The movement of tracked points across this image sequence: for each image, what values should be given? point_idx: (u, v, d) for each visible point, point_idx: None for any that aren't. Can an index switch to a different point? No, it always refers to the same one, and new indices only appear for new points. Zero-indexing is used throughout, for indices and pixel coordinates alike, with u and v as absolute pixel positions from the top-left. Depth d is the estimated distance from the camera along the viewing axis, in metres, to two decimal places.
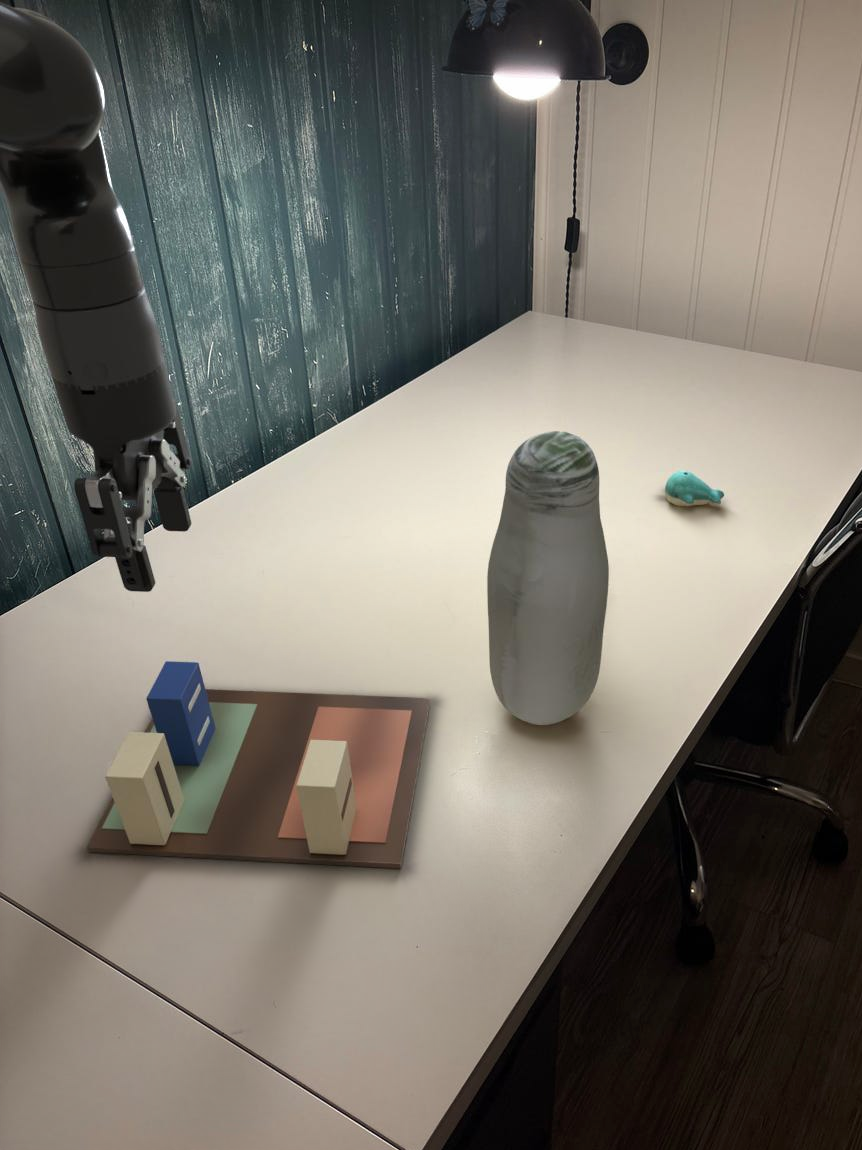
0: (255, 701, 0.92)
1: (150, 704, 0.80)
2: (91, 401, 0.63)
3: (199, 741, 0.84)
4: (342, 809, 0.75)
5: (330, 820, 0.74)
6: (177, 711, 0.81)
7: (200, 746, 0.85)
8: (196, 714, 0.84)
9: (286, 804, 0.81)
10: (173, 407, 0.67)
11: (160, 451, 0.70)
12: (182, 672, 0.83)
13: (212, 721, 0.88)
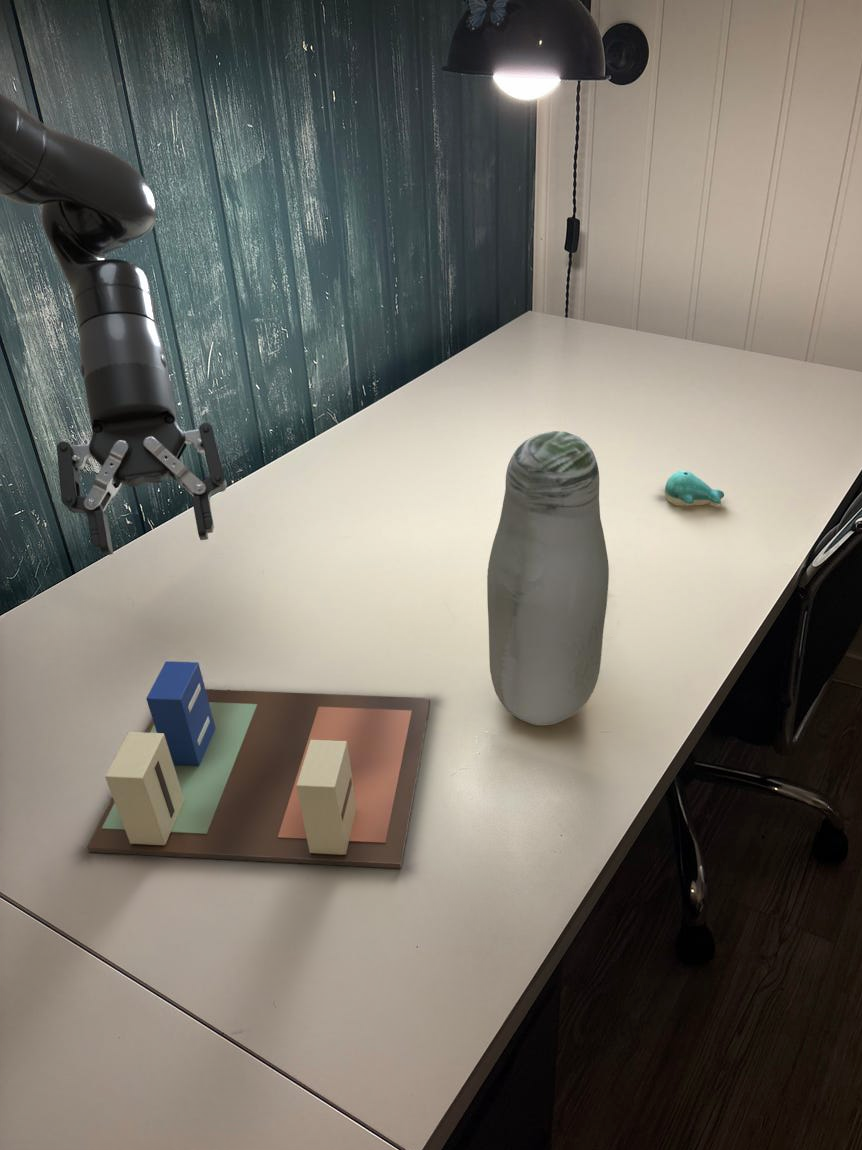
0: (255, 701, 0.92)
1: (150, 704, 0.80)
2: None
3: (199, 741, 0.84)
4: (342, 809, 0.75)
5: (330, 820, 0.74)
6: (177, 711, 0.81)
7: (200, 746, 0.85)
8: (196, 714, 0.84)
9: (286, 804, 0.81)
10: (130, 398, 0.84)
11: (143, 443, 0.86)
12: (182, 672, 0.83)
13: (212, 721, 0.88)
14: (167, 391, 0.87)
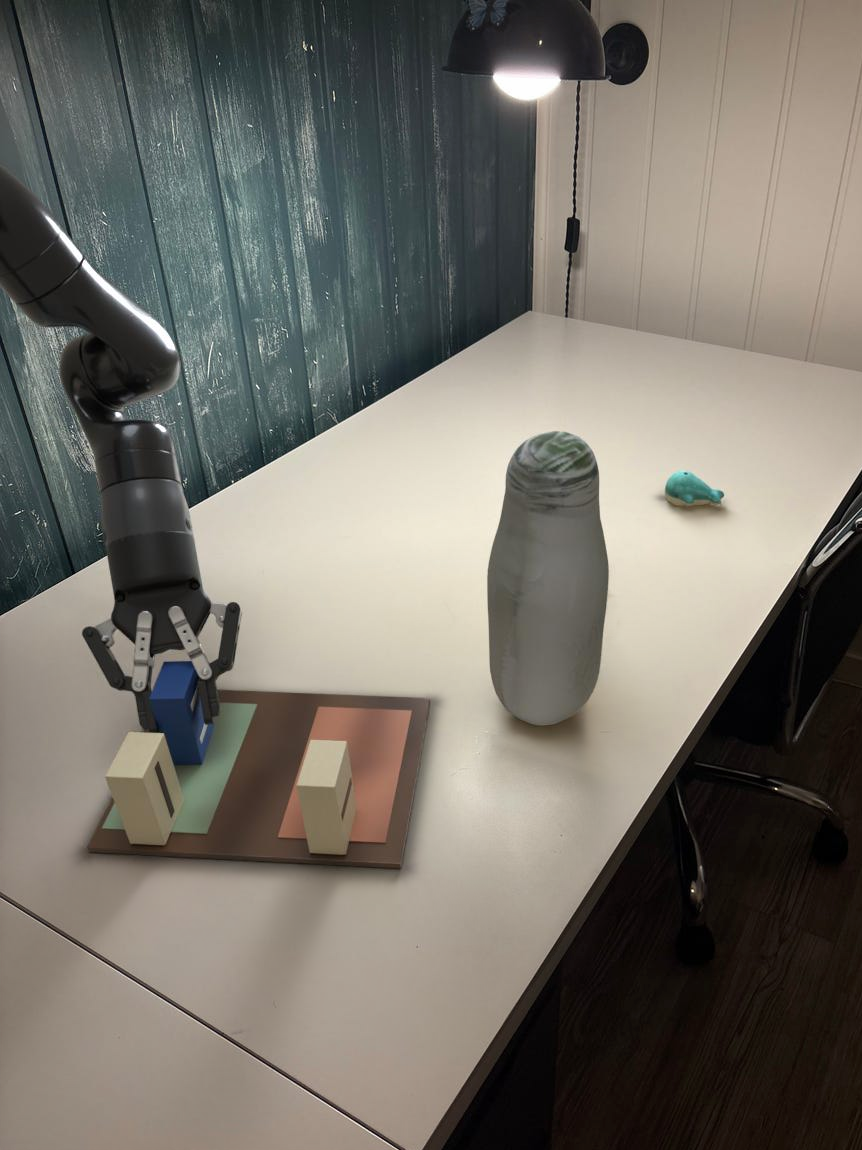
0: (255, 701, 0.92)
1: (153, 704, 0.80)
2: None
3: (201, 739, 0.85)
4: (342, 809, 0.75)
5: (330, 820, 0.74)
6: (180, 710, 0.81)
7: (202, 745, 0.85)
8: (198, 712, 0.84)
9: (286, 804, 0.81)
10: (155, 569, 0.81)
11: (168, 613, 0.82)
12: (182, 671, 0.83)
13: None
14: (192, 556, 0.84)
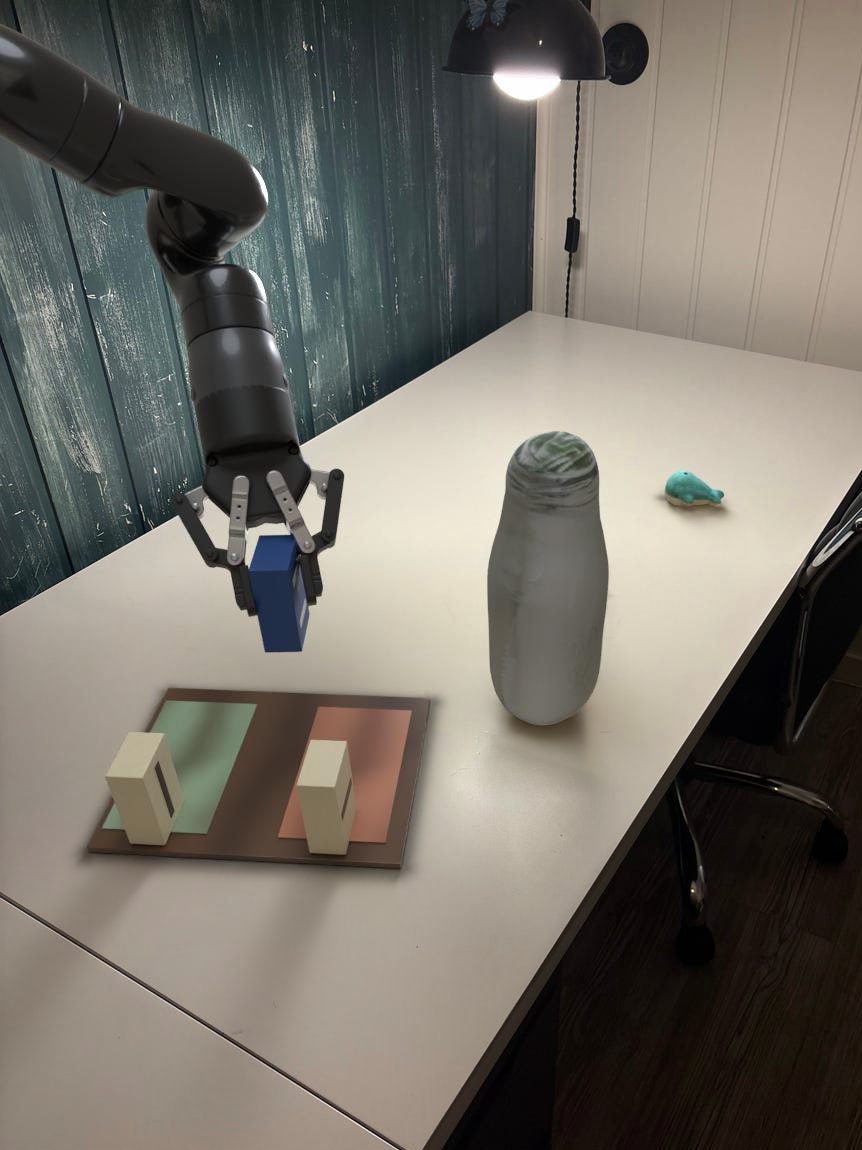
0: (255, 701, 0.92)
1: (252, 578, 0.72)
2: (197, 423, 0.75)
3: (300, 623, 0.76)
4: (342, 809, 0.75)
5: (330, 820, 0.74)
6: (283, 584, 0.72)
7: (301, 630, 0.76)
8: (298, 592, 0.75)
9: (286, 804, 0.81)
10: (254, 426, 0.72)
11: (266, 479, 0.73)
12: (281, 544, 0.74)
13: (307, 606, 0.79)
14: (291, 417, 0.75)
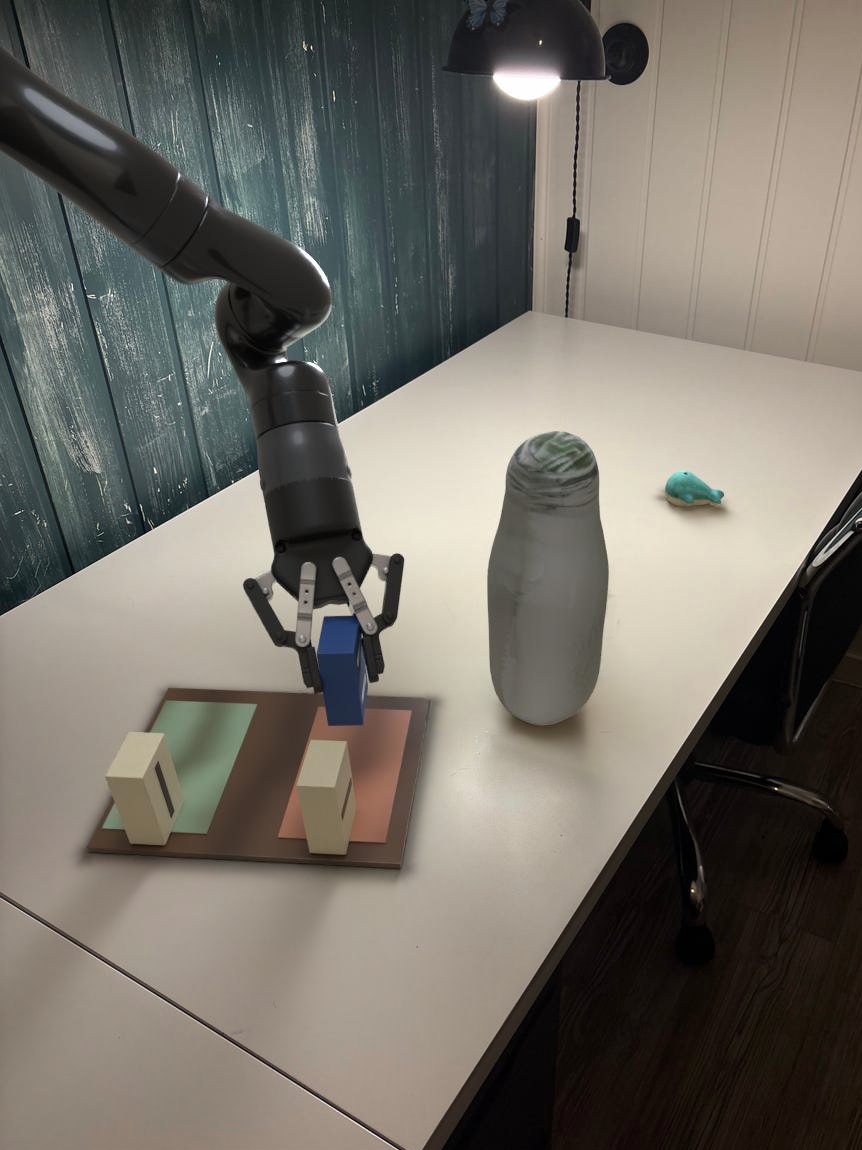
0: (255, 701, 0.92)
1: (320, 660, 0.76)
2: (266, 511, 0.79)
3: (362, 698, 0.80)
4: (342, 809, 0.75)
5: (330, 820, 0.74)
6: (348, 666, 0.76)
7: (363, 705, 0.81)
8: (360, 670, 0.79)
9: (286, 804, 0.81)
10: (321, 517, 0.76)
11: (332, 565, 0.78)
12: (346, 626, 0.78)
13: (366, 679, 0.83)
14: (355, 505, 0.79)
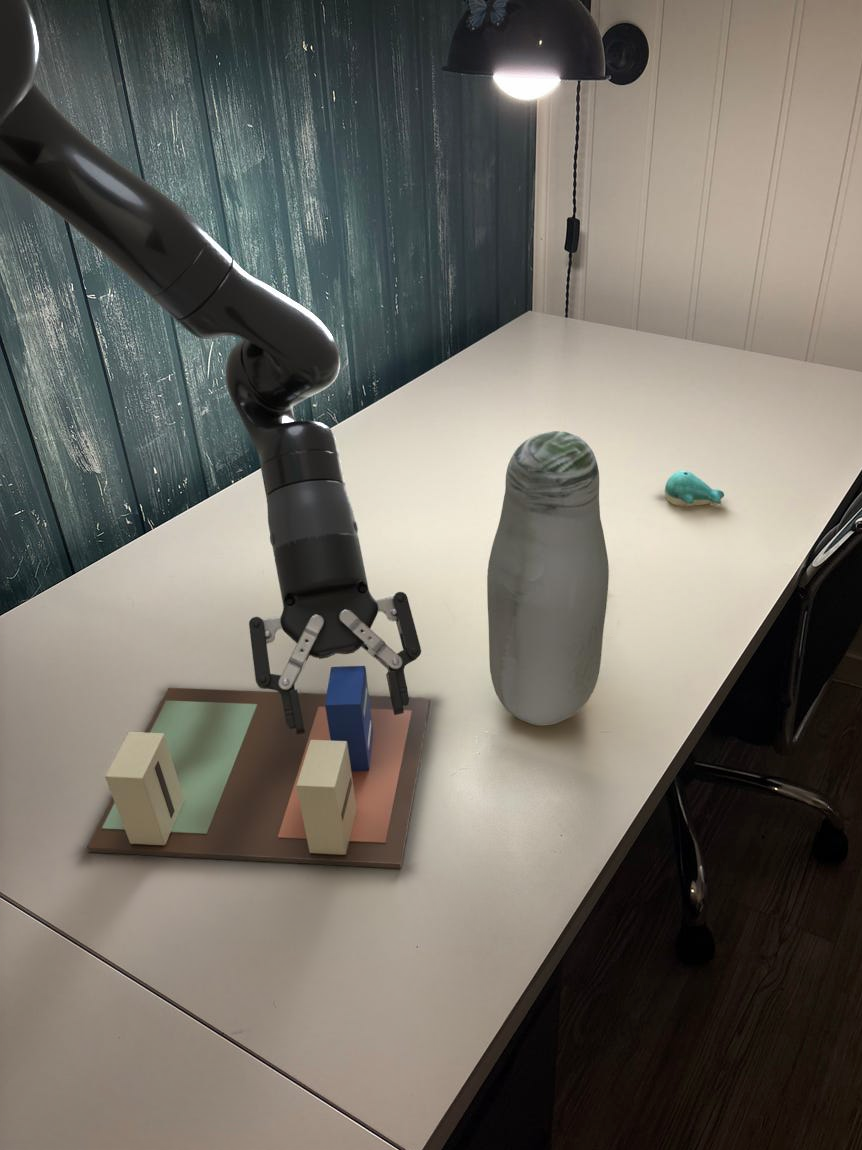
0: (255, 701, 0.92)
1: (328, 710, 0.79)
2: (276, 564, 0.82)
3: (368, 745, 0.84)
4: (342, 809, 0.75)
5: (330, 820, 0.74)
6: (355, 715, 0.80)
7: (368, 751, 0.84)
8: (366, 718, 0.83)
9: (286, 804, 0.81)
10: (329, 572, 0.79)
11: (339, 617, 0.81)
12: (352, 676, 0.82)
13: (371, 725, 0.87)
14: (361, 559, 0.82)
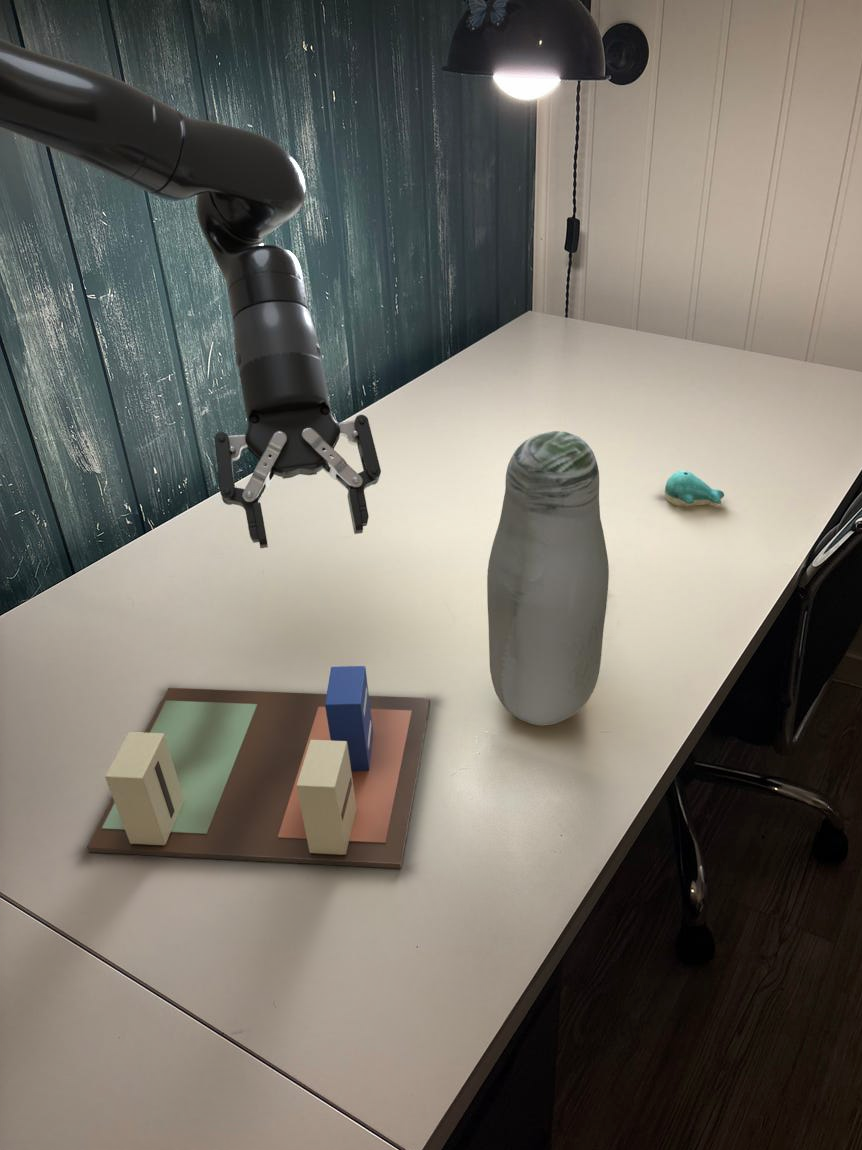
0: (255, 701, 0.92)
1: (328, 710, 0.79)
2: (241, 385, 0.85)
3: (368, 745, 0.84)
4: (342, 809, 0.75)
5: (330, 820, 0.74)
6: (355, 715, 0.80)
7: (368, 751, 0.84)
8: (366, 718, 0.83)
9: (286, 804, 0.81)
10: (292, 388, 0.82)
11: (301, 435, 0.84)
12: (352, 676, 0.82)
13: (371, 725, 0.87)
14: (323, 382, 0.85)
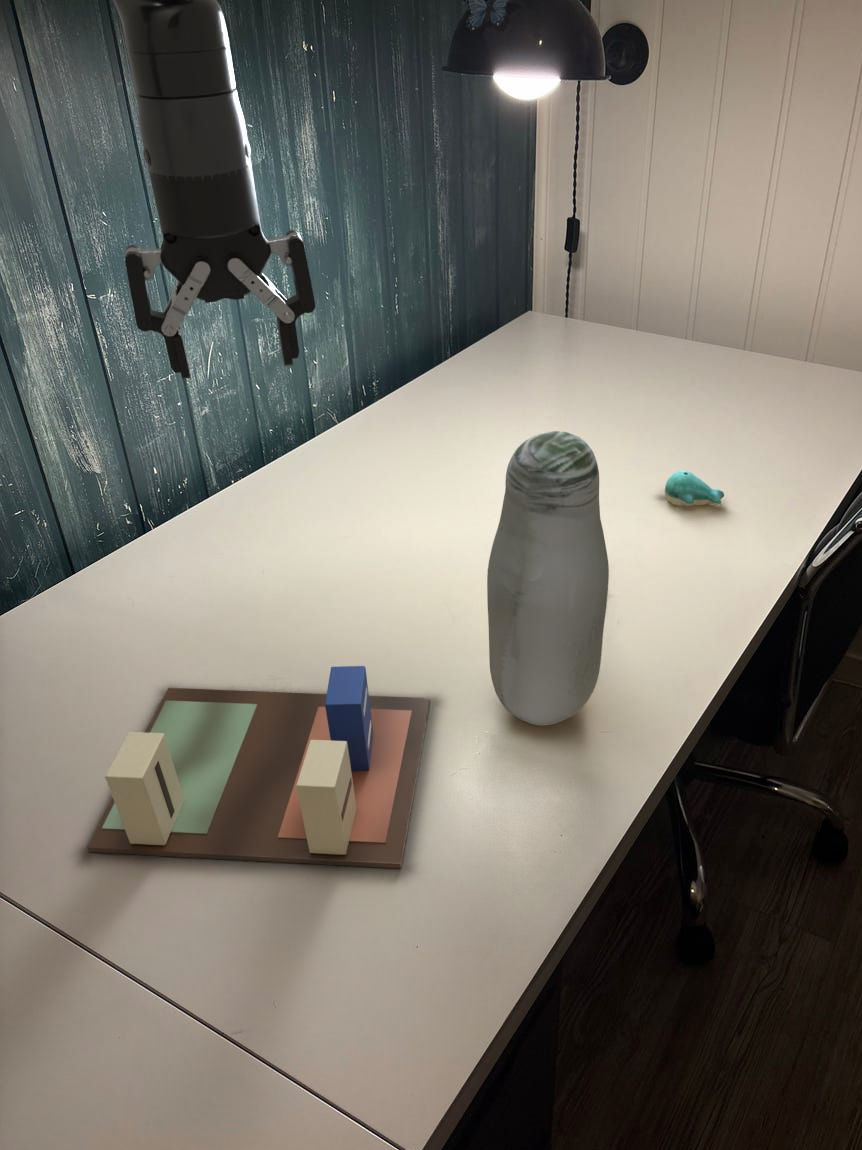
0: (255, 701, 0.92)
1: (328, 710, 0.79)
2: (152, 184, 0.71)
3: (368, 745, 0.84)
4: (342, 809, 0.75)
5: (330, 820, 0.74)
6: (355, 715, 0.80)
7: (368, 751, 0.84)
8: (366, 718, 0.83)
9: (286, 804, 0.81)
10: (217, 224, 0.70)
11: (227, 266, 0.74)
12: (352, 676, 0.82)
13: (371, 725, 0.87)
14: (253, 195, 0.72)
